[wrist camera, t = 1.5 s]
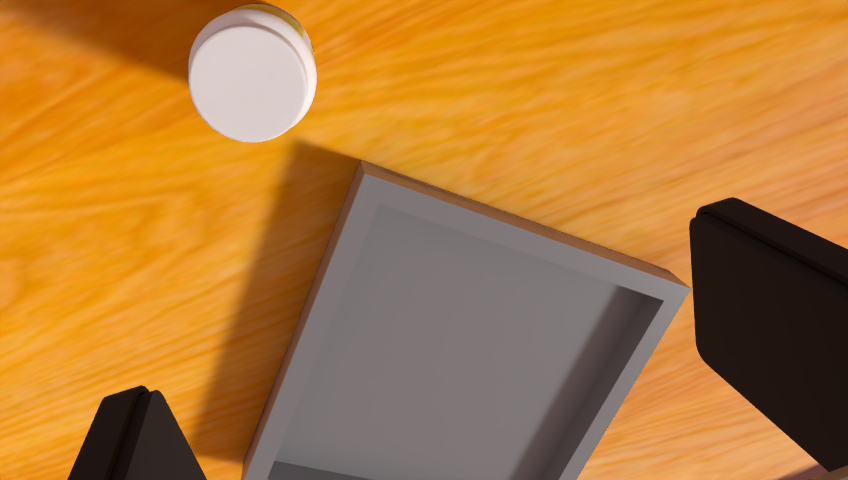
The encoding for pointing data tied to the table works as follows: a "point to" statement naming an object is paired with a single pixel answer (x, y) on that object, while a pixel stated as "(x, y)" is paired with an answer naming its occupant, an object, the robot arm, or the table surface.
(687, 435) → the table surface
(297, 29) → the supplement bottle
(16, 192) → the table surface
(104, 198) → the table surface
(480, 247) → the serving tray
